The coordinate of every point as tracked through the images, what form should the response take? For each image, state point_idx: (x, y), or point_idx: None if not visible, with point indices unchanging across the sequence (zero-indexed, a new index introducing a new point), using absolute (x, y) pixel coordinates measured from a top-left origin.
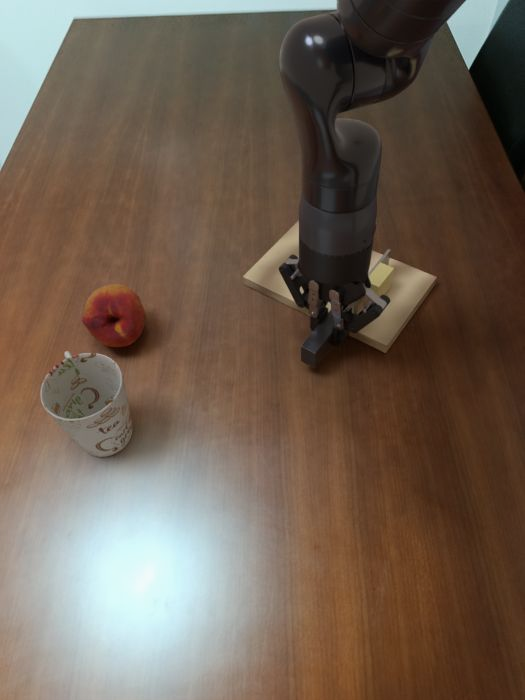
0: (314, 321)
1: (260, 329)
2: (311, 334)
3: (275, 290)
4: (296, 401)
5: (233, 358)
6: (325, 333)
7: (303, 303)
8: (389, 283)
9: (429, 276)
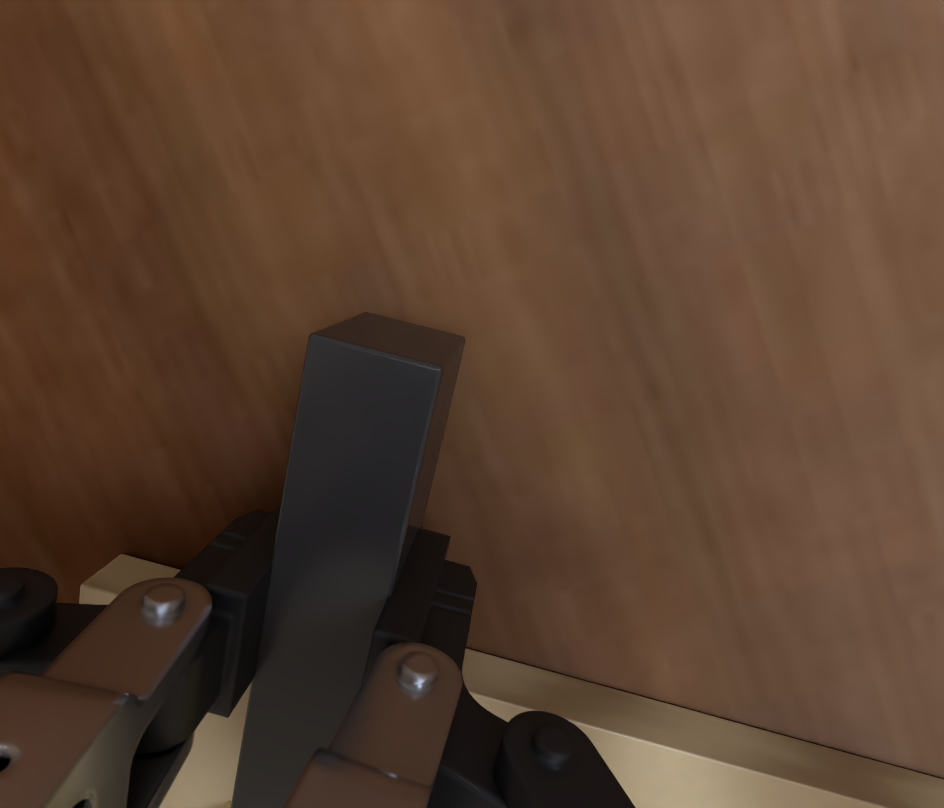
0: (418, 616)
1: (791, 523)
2: (404, 500)
3: (788, 791)
4: (423, 99)
5: (904, 270)
6: (311, 537)
7: (510, 764)
8: None
9: None
